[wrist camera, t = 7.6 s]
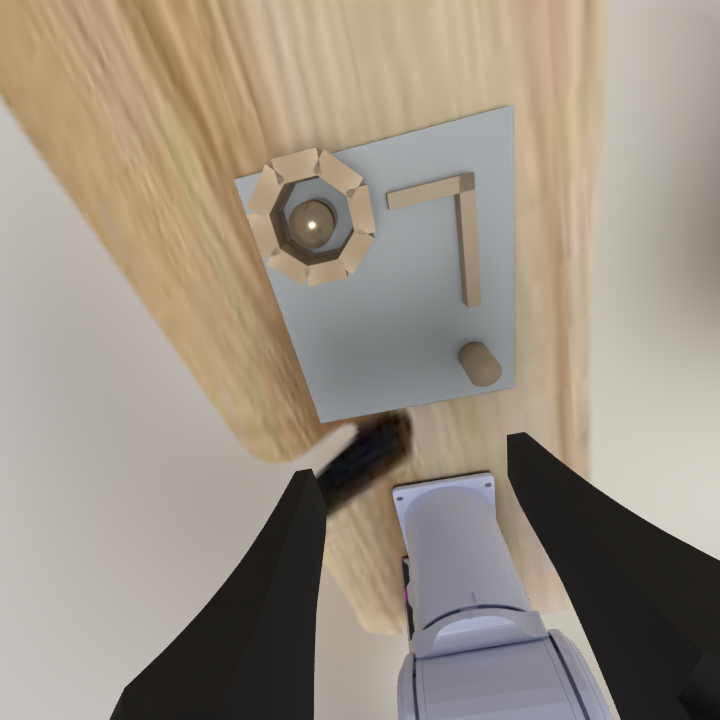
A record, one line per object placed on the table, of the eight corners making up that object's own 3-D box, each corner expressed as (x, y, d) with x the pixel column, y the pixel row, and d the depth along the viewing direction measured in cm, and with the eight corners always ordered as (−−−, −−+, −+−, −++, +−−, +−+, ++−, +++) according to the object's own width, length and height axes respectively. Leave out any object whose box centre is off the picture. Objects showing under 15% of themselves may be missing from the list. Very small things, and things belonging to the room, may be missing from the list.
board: (509, 380, 22) (530, 407, 19) (322, 415, 23) (317, 445, 21) (506, 108, 15) (538, 92, 12) (239, 179, 16) (216, 179, 14)
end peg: (341, 232, 17) (338, 243, 14) (307, 240, 17) (296, 253, 14) (332, 193, 16) (326, 196, 13) (296, 202, 16) (282, 207, 13)
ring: (379, 256, 17) (383, 270, 15) (287, 278, 18) (274, 294, 15) (358, 144, 15) (358, 135, 12) (252, 172, 16) (230, 170, 13)
